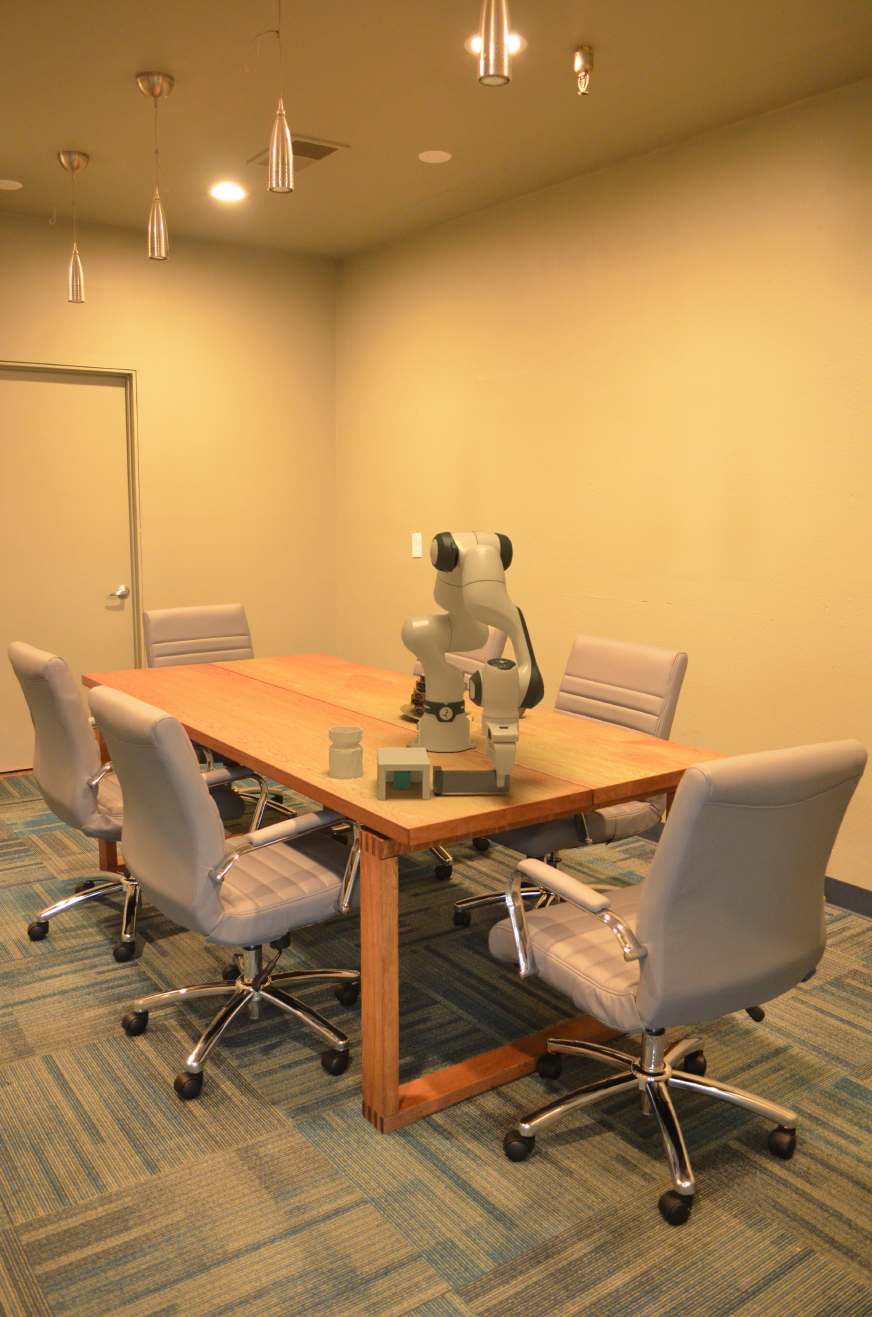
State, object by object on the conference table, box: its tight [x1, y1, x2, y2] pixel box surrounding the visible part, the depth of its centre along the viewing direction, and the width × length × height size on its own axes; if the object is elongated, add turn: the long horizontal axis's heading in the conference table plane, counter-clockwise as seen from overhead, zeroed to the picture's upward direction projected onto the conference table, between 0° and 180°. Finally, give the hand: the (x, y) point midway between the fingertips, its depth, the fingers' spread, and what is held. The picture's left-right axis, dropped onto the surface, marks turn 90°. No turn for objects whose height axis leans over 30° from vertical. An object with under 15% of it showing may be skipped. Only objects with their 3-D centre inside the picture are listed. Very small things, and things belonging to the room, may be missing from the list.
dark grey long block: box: [432, 765, 511, 794], centre depth 238 cm, size 6×18×5 cm, turn 94°
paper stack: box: [399, 669, 471, 720], centre depth 333 cm, size 25×25×17 cm
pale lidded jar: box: [328, 725, 364, 780], centre depth 254 cm, size 9×9×12 cm
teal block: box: [393, 771, 411, 790], centre depth 243 cm, size 4×4×4 cm
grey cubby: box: [376, 747, 431, 801], centre depth 240 cm, size 18×12×8 cm, turn 4°
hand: (499, 784), depth 237 cm, fingers closed on dark grey long block
